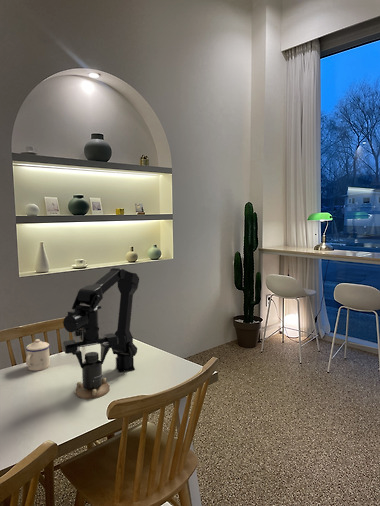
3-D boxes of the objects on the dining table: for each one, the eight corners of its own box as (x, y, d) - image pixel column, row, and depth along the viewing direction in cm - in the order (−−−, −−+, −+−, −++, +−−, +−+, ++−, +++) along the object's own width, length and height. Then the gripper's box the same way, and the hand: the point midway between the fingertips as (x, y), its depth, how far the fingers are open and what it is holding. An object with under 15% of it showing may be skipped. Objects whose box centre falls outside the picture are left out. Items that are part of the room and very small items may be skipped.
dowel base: (106, 381, 149) (106, 374, 149) (112, 395, 138) (112, 388, 138) (74, 386, 145) (73, 379, 145) (77, 401, 134) (76, 394, 134)
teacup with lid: (36, 361, 169) (34, 335, 167) (55, 363, 166) (53, 336, 165) (17, 373, 157) (15, 345, 156) (37, 375, 155) (35, 346, 153)
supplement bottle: (99, 390, 138) (97, 358, 136) (80, 390, 138) (78, 357, 137) (104, 382, 145) (103, 350, 143) (86, 381, 145) (85, 350, 144)
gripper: (108, 314, 150) (110, 353, 152) (58, 321, 141) (60, 363, 143) (118, 321, 140) (119, 363, 142) (64, 330, 131) (66, 374, 133)
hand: (91, 365), depth 141 cm, fingers closed on supplement bottle, 7 cm apart
